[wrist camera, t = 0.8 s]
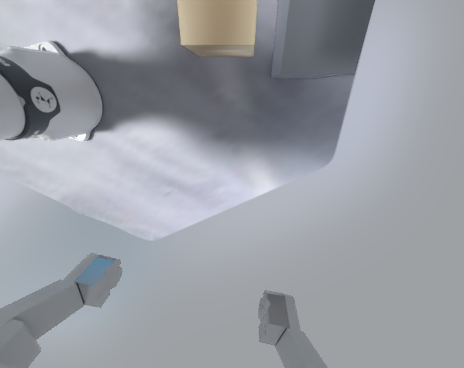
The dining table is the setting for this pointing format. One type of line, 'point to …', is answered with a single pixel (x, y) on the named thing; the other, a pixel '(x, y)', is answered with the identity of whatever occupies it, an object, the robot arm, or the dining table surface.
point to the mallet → (218, 27)
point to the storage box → (319, 37)
